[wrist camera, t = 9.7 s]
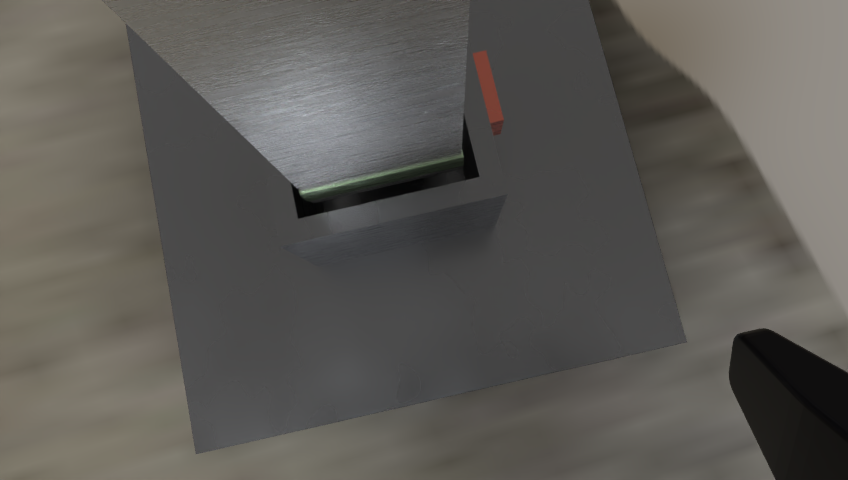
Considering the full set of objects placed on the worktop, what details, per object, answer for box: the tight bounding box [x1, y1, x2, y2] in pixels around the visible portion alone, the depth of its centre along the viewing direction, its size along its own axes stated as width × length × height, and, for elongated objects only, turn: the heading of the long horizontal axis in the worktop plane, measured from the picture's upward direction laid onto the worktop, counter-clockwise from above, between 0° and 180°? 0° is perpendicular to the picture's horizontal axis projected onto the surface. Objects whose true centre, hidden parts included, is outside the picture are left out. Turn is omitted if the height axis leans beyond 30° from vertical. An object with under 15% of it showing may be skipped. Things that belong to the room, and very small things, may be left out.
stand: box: [126, 0, 687, 454], centre depth 20 cm, size 16×16×6 cm
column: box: [102, 0, 470, 203], centre depth 12 cm, size 4×4×11 cm
